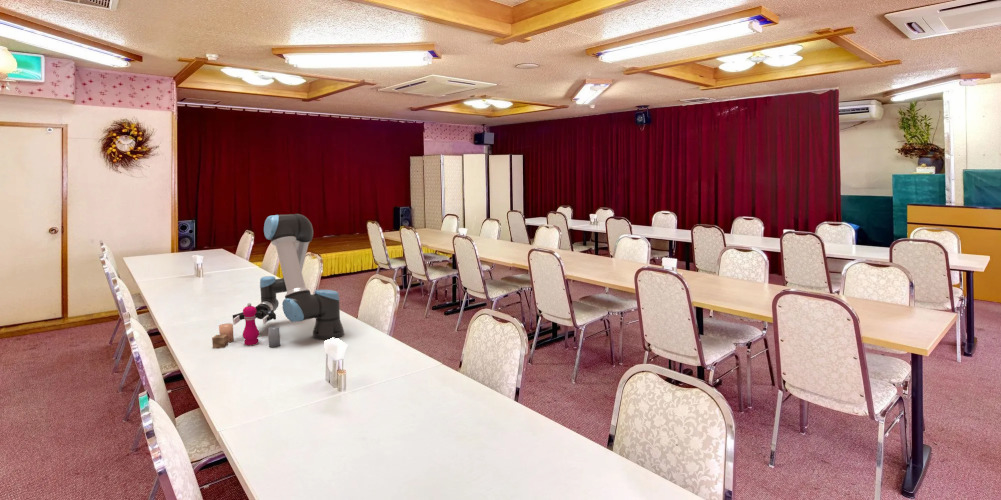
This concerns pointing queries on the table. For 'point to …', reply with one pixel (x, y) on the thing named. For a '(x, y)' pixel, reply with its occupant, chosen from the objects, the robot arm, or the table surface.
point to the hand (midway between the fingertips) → (248, 321)
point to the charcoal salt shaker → (274, 336)
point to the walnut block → (220, 341)
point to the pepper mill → (250, 326)
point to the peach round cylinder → (227, 331)
